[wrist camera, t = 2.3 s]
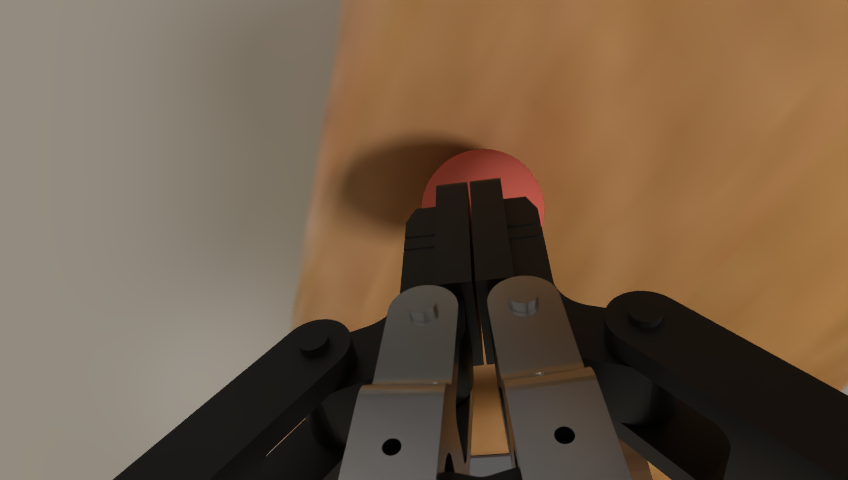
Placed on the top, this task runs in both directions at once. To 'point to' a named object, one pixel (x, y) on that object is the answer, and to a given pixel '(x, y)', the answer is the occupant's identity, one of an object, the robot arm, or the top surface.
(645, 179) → the top surface
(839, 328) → the top surface
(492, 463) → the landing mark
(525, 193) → the ball
